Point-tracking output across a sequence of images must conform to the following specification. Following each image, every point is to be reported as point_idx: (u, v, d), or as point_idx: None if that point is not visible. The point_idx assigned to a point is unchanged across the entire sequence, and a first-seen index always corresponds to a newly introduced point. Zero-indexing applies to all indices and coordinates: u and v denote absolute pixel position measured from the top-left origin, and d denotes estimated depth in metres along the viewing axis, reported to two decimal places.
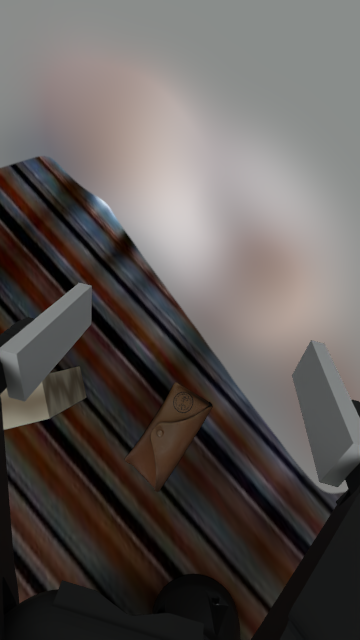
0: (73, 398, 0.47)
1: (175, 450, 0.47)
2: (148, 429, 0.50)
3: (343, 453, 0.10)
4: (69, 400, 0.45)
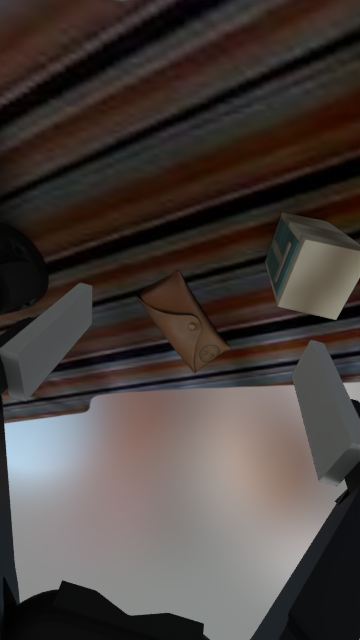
0: None
1: (169, 334, 0.46)
2: (199, 311, 0.45)
3: (342, 452, 0.10)
4: None
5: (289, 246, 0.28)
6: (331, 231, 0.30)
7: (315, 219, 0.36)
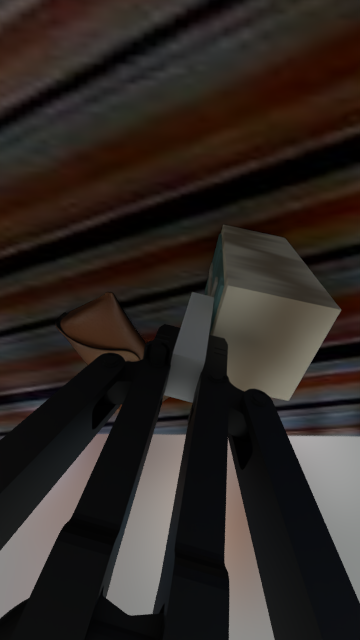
0: None
1: None
2: (139, 345, 0.34)
3: (186, 369, 0.13)
4: None
5: (215, 286, 0.18)
6: (283, 258, 0.20)
7: (268, 235, 0.26)
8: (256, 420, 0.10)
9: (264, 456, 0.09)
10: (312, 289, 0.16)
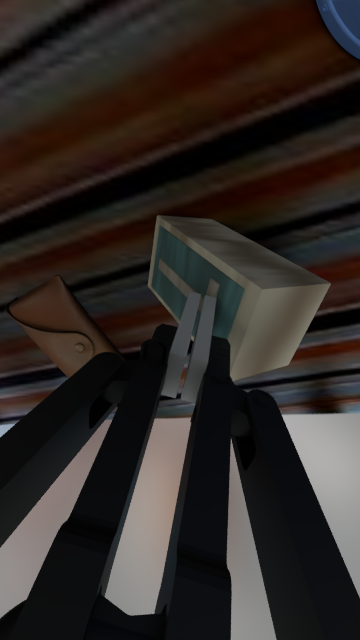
0: None
1: (52, 357, 0.35)
2: (90, 328, 0.35)
3: (189, 369, 0.13)
4: None
5: (217, 288, 0.18)
6: (243, 243, 0.22)
7: (199, 219, 0.26)
8: (259, 421, 0.10)
9: (267, 457, 0.09)
10: (297, 270, 0.18)
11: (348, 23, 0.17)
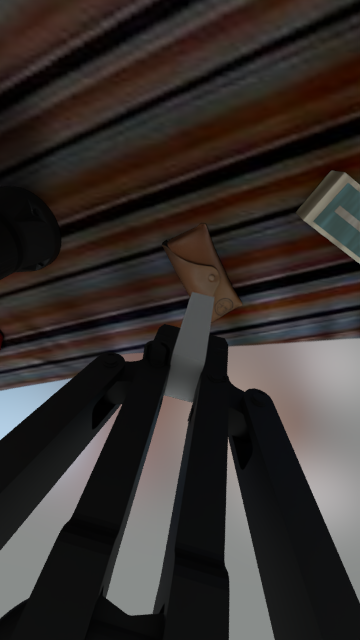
0: None
1: (190, 284, 0.49)
2: (219, 264, 0.49)
3: (186, 369, 0.13)
4: None
5: None
6: None
7: None
8: (256, 420, 0.10)
9: (264, 456, 0.09)
10: None
11: None
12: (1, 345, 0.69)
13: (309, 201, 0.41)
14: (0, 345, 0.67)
